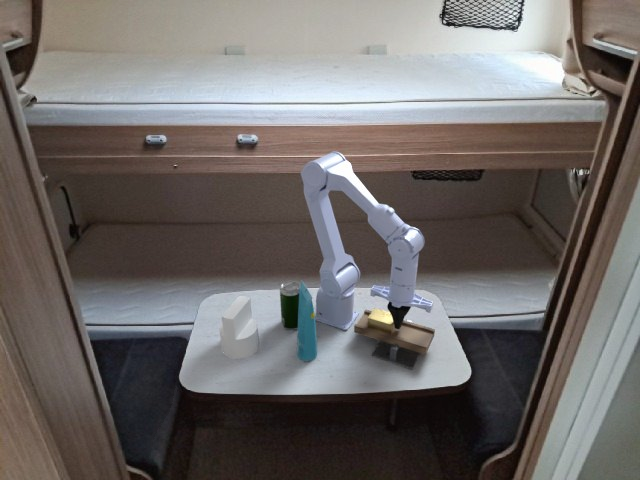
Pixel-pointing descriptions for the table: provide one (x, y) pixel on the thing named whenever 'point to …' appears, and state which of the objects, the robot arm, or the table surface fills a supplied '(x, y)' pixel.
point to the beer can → (289, 304)
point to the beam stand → (396, 354)
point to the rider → (381, 321)
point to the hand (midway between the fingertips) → (398, 326)
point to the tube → (306, 326)
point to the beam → (399, 334)
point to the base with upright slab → (239, 330)
